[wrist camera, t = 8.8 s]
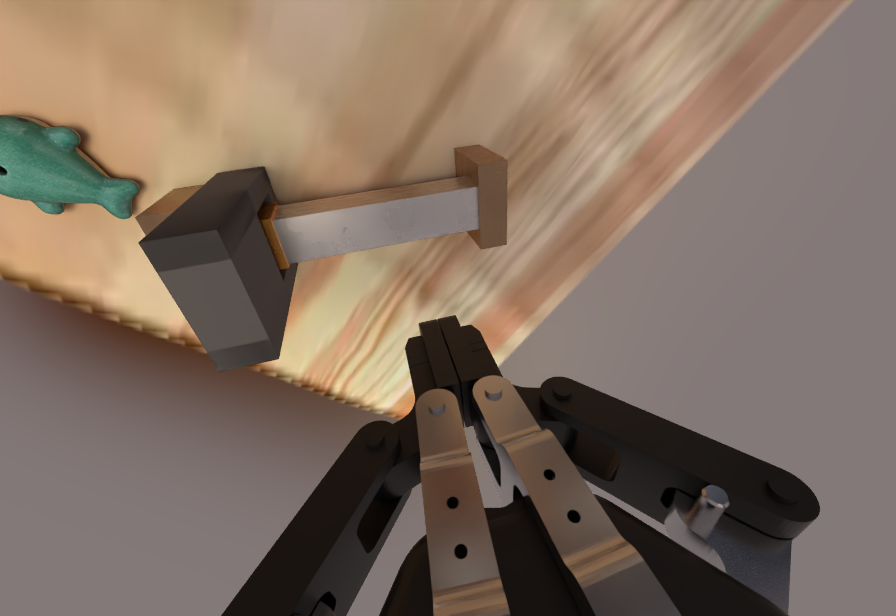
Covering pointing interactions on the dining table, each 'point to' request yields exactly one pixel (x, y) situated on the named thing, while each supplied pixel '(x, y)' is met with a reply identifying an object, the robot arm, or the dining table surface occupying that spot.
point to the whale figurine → (56, 169)
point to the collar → (225, 269)
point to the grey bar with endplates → (379, 213)
